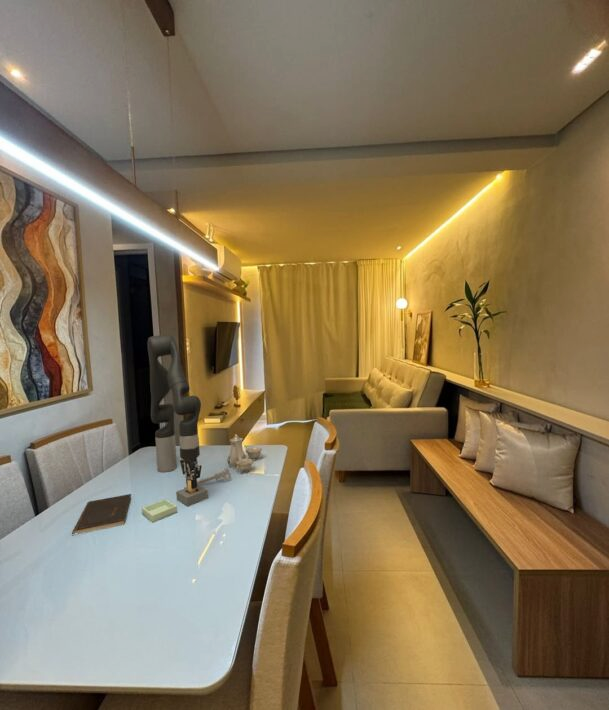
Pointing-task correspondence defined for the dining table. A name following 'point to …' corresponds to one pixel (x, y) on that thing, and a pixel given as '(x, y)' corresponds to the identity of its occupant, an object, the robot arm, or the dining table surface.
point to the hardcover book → (103, 514)
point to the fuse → (190, 485)
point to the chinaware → (241, 455)
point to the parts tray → (159, 510)
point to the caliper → (215, 477)
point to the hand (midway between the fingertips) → (191, 486)
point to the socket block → (192, 496)
